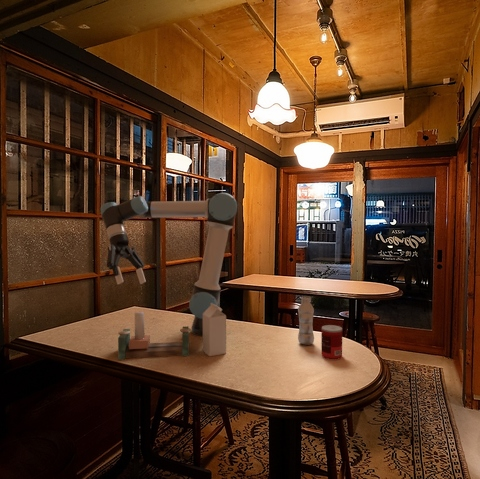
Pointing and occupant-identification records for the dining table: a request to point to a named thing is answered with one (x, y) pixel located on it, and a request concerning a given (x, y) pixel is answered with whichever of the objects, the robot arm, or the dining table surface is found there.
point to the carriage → (139, 334)
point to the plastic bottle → (306, 321)
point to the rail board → (153, 346)
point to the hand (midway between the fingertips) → (132, 283)
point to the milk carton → (214, 331)
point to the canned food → (331, 342)
